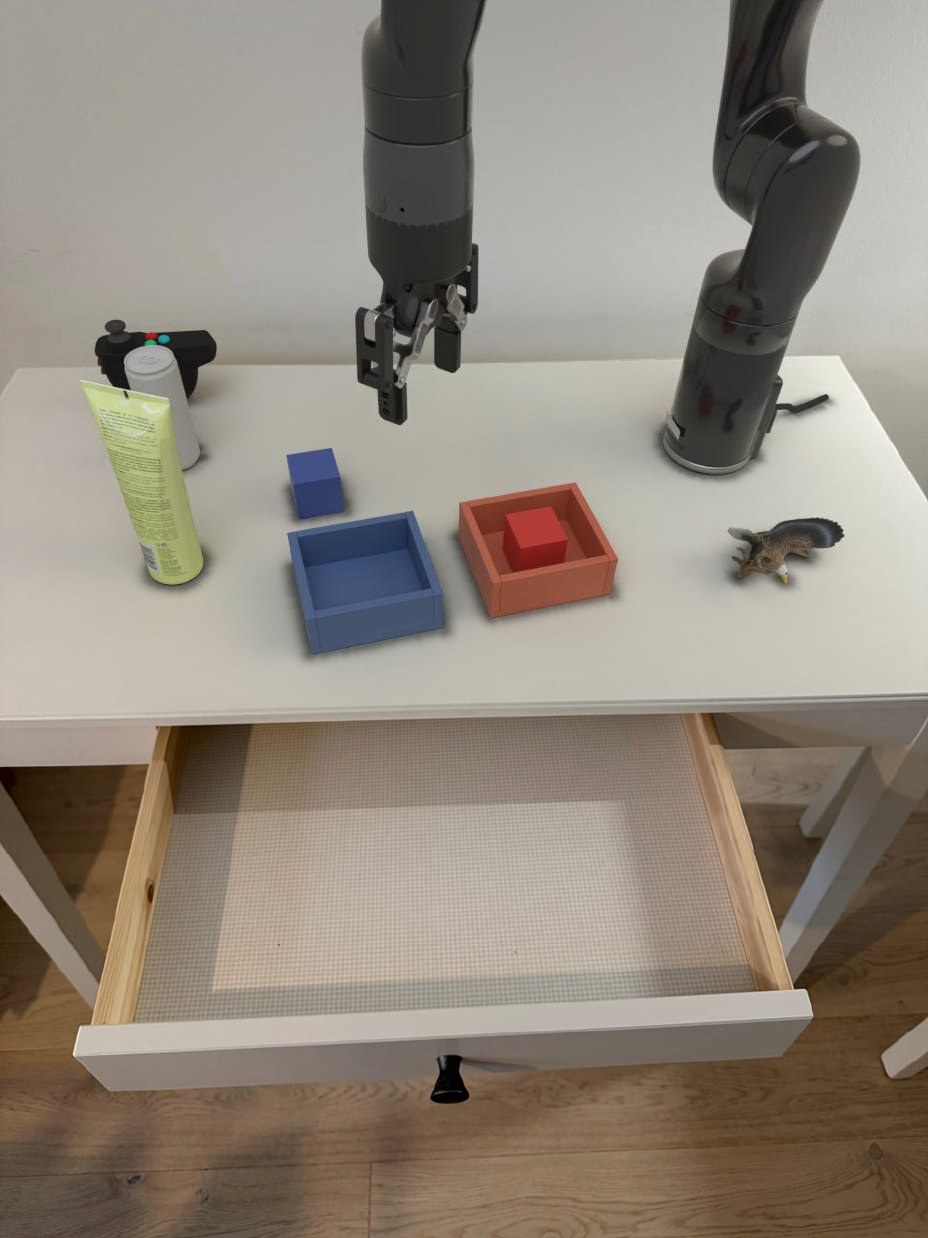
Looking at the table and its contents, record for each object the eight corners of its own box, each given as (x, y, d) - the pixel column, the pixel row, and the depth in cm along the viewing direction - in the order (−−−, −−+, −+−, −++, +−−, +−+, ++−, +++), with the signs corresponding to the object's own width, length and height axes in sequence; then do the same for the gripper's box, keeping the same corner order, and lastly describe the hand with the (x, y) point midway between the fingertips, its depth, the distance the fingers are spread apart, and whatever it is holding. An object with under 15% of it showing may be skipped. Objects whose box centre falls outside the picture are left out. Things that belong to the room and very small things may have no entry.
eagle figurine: (784, 610, 78) (855, 558, 80) (761, 542, 75) (836, 490, 77) (727, 593, 85) (794, 545, 87) (704, 529, 82) (774, 482, 84)
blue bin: (414, 545, 84) (413, 510, 80) (442, 628, 77) (443, 593, 74) (293, 568, 82) (286, 532, 78) (312, 654, 75) (306, 619, 72)
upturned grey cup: (190, 477, 90) (162, 376, 80) (146, 470, 90) (113, 369, 81) (208, 447, 93) (183, 347, 84) (165, 441, 93) (136, 341, 84)
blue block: (335, 482, 90) (331, 447, 86) (344, 511, 87) (340, 476, 83) (292, 489, 89) (286, 454, 85) (298, 519, 86) (293, 484, 82)
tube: (203, 540, 84) (152, 362, 69) (217, 575, 81) (168, 397, 66) (143, 557, 82) (78, 379, 67) (156, 594, 79) (91, 415, 64)
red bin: (570, 517, 87) (576, 481, 84) (610, 593, 80) (618, 558, 77) (458, 537, 85) (459, 502, 81) (490, 618, 78) (492, 583, 75)
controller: (115, 396, 98) (88, 314, 91) (227, 387, 100) (210, 306, 92) (112, 419, 95) (84, 337, 88) (227, 409, 97) (209, 328, 89)
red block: (546, 540, 84) (551, 505, 80) (562, 573, 81) (568, 538, 78) (502, 549, 83) (504, 514, 80) (516, 582, 80) (520, 547, 77)
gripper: (411, 251, 55) (415, 455, 67) (514, 170, 63) (501, 365, 76) (313, 221, 57) (334, 424, 70) (425, 146, 66) (427, 340, 78)
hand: (421, 393), depth 73 cm, fingers open, 8 cm apart
